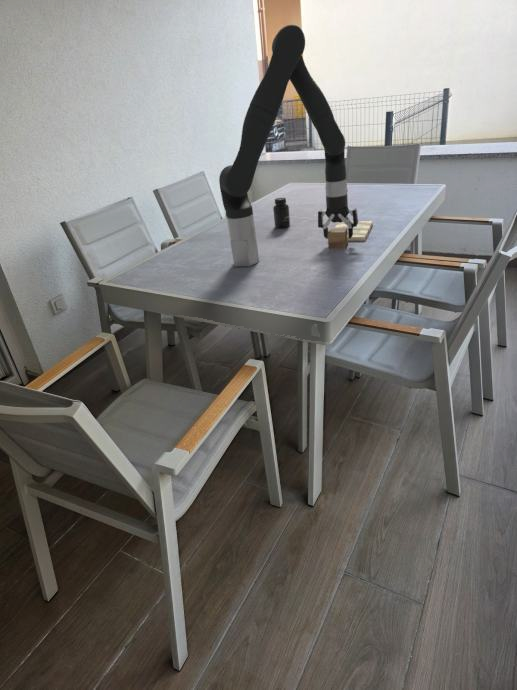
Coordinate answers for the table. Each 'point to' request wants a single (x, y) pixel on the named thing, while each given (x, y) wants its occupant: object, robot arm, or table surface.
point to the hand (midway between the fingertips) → (338, 237)
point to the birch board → (358, 230)
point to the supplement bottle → (281, 213)
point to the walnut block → (338, 237)
